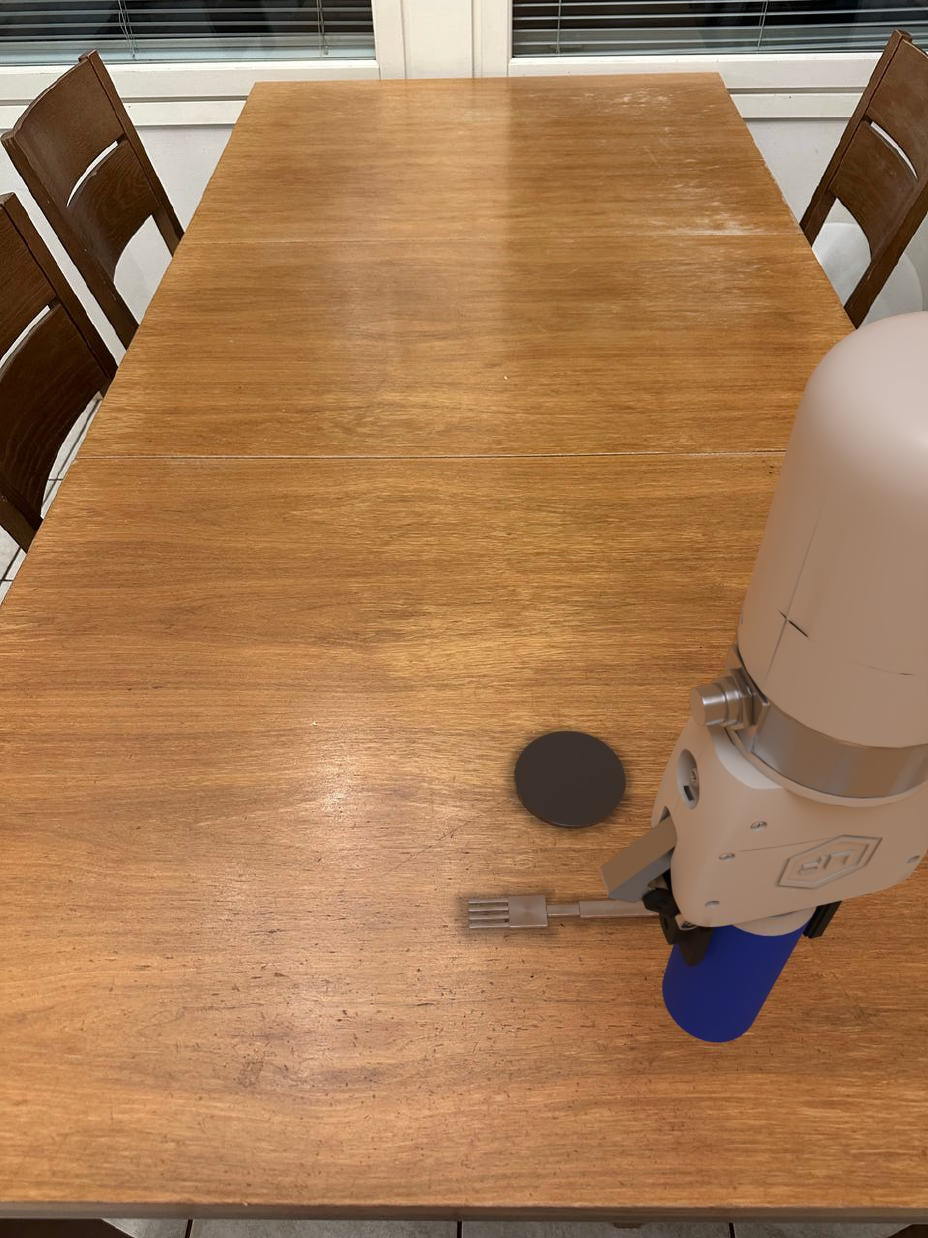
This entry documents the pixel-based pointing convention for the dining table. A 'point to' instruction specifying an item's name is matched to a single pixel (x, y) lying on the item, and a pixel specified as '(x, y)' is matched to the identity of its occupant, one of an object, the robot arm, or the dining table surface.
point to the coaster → (569, 779)
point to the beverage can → (731, 975)
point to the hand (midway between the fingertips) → (741, 920)
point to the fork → (549, 911)
